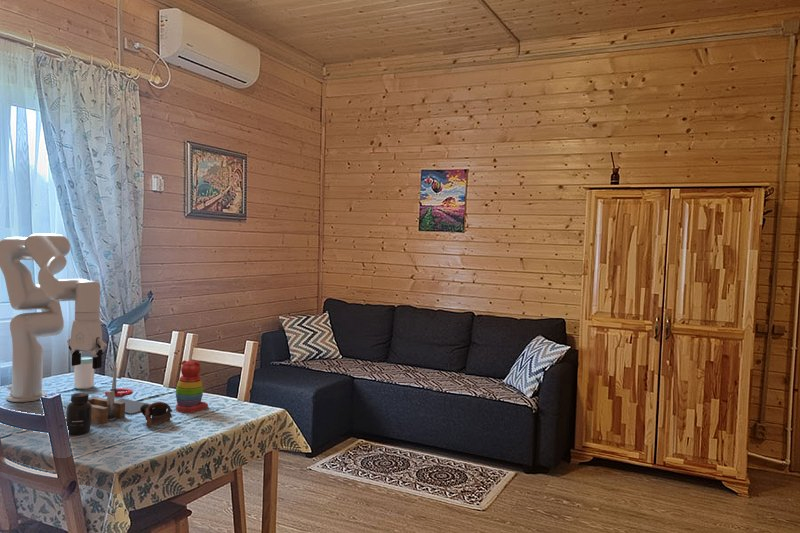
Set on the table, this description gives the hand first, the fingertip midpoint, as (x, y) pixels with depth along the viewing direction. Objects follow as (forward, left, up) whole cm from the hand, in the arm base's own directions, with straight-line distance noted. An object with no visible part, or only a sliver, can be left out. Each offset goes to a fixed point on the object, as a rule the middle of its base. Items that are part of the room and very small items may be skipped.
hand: (86, 366), depth 201 cm
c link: (+6, 0, -17) cm, 18 cm away
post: (+11, 0, -17) cm, 20 cm away
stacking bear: (+25, +23, -17) cm, 38 cm away
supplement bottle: (+14, -14, -17) cm, 26 cm away
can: (-30, +25, -17) cm, 43 cm away
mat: (+5, +14, -17) cm, 22 cm away
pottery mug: (+27, +5, -17) cm, 32 cm away
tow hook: (-12, +26, -17) cm, 33 cm away
